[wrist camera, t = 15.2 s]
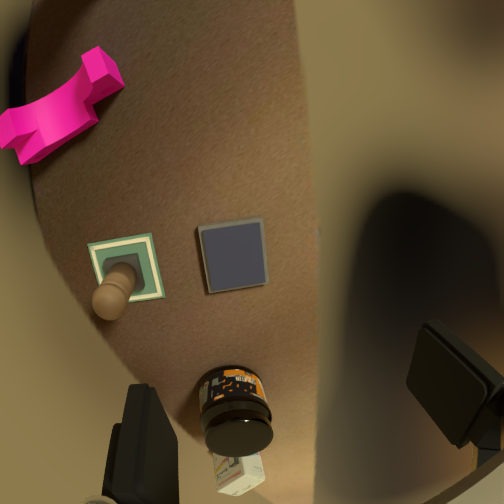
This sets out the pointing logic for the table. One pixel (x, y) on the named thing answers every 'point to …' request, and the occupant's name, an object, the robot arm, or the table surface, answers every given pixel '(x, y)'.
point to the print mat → (146, 256)
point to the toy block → (60, 110)
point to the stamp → (117, 286)
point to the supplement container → (234, 412)
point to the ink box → (238, 473)
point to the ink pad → (234, 253)
